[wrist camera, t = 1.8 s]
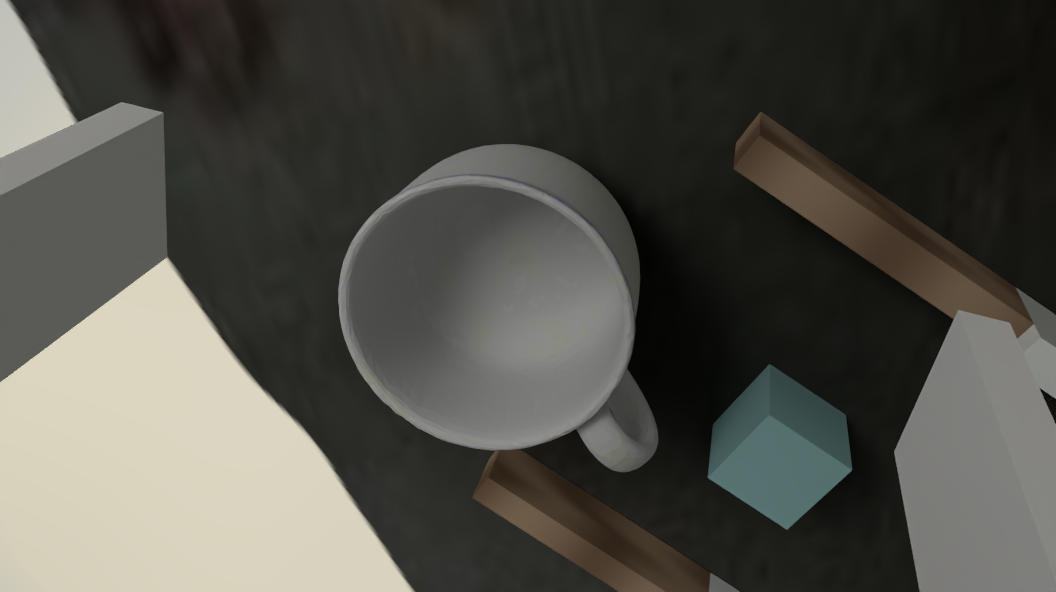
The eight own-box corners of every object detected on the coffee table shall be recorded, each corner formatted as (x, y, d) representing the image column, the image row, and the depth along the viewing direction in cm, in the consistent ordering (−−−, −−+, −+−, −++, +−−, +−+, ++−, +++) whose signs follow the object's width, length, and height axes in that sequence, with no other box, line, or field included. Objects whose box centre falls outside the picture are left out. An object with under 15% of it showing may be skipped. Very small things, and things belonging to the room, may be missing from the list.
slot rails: (489, 458, 46) (472, 497, 44) (760, 111, 36) (759, 135, 33) (692, 589, 47) (687, 635, 44) (1015, 287, 37) (1033, 324, 34)
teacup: (361, 191, 41) (277, 269, 34) (568, 63, 37) (520, 123, 30) (534, 434, 45) (491, 549, 38) (742, 346, 40) (735, 458, 33)
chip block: (712, 423, 42) (707, 477, 39) (769, 362, 41) (769, 414, 37) (785, 471, 43) (787, 529, 39) (845, 413, 41) (852, 470, 37)
